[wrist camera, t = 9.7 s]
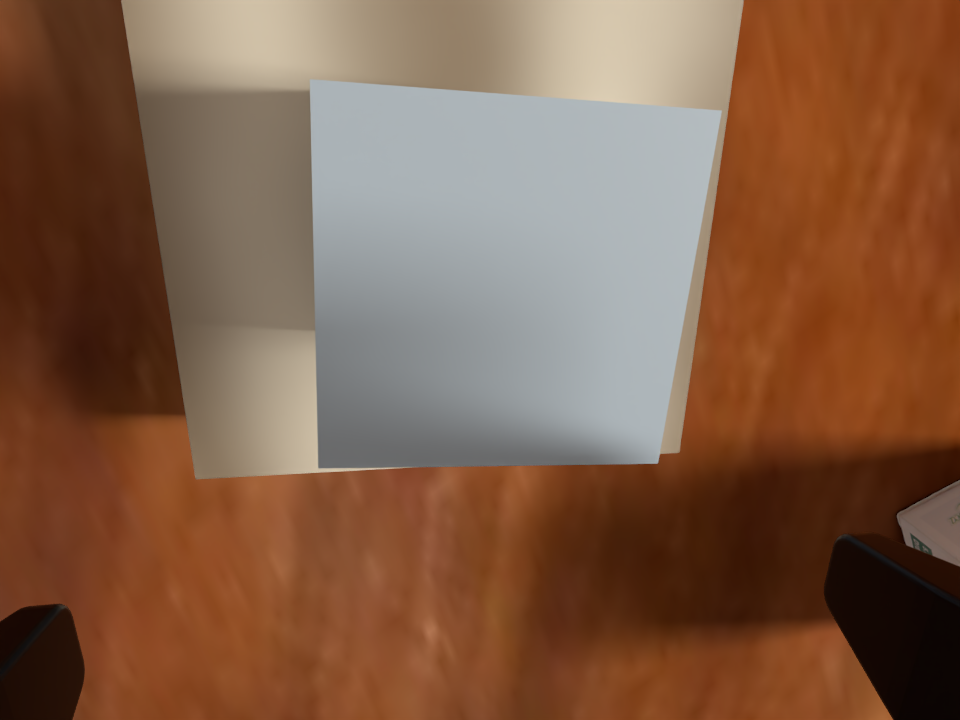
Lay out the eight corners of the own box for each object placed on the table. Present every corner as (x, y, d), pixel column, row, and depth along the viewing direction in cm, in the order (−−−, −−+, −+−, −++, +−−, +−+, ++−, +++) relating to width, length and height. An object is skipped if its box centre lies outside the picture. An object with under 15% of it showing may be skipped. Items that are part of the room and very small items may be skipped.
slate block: (340, 332, 15) (318, 467, 9) (338, 91, 13) (309, 78, 7) (557, 336, 16) (658, 463, 10) (583, 109, 14) (722, 110, 8)
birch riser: (231, 407, 19) (195, 479, 16) (169, -74, 15) (100, -133, 11) (626, 391, 21) (679, 452, 17) (672, -47, 17) (756, -90, 13)
